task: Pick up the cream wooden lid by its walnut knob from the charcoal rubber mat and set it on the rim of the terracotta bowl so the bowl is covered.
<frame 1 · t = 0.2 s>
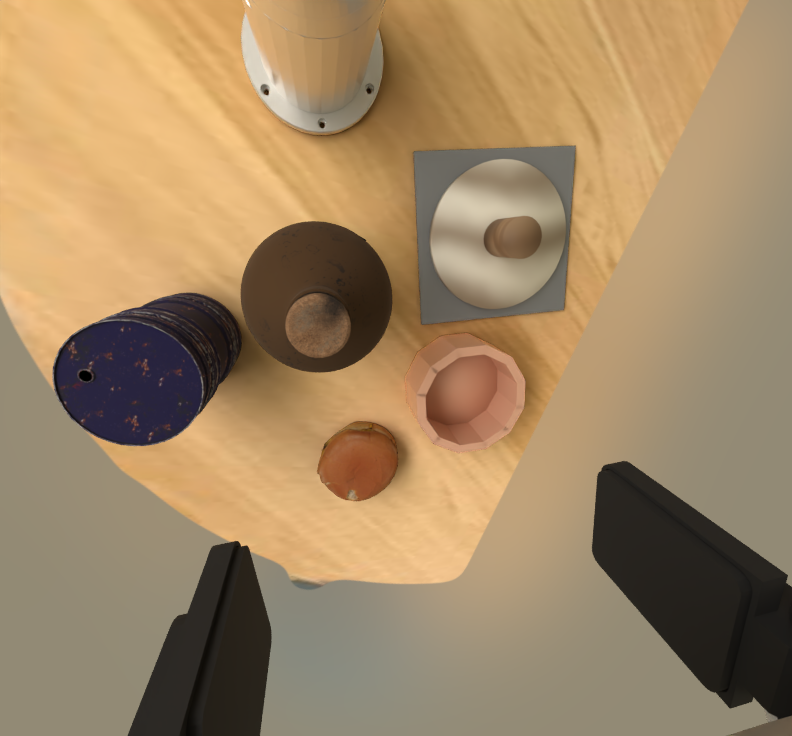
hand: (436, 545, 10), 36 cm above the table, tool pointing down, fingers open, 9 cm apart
bowl: (454, 383, 49), on the table
mat: (494, 238, 45), on the table
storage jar: (194, 337, 42), on the table
burger: (357, 452, 50), on the table
olive oil: (320, 279, 43), on the table
lid: (496, 238, 44), resting on mat
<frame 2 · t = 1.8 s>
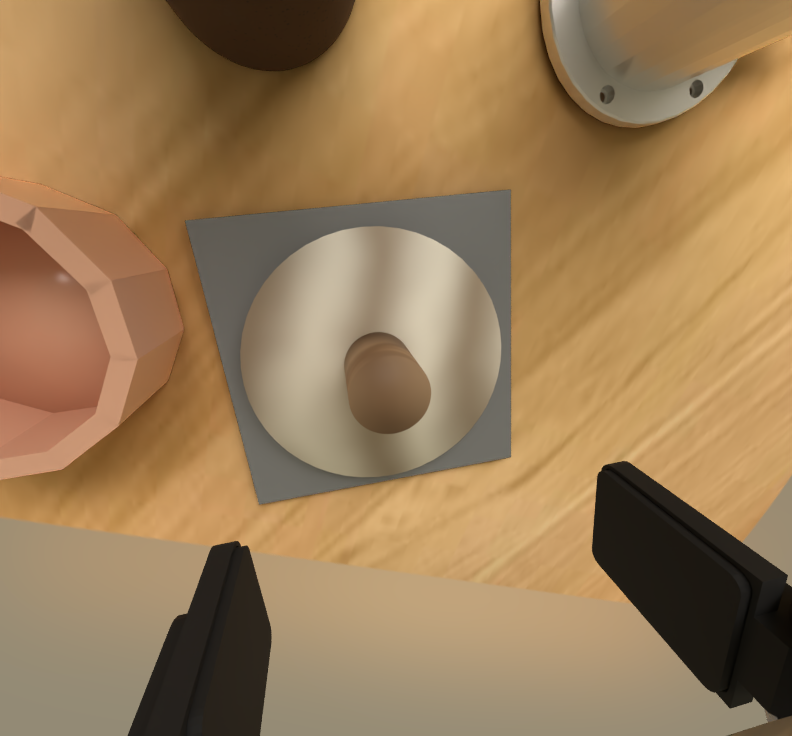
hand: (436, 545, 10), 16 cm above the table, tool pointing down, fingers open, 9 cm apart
bowl: (53, 314, 21), on the table
mat: (374, 356, 25), on the table
lid: (375, 358, 25), resting on mat
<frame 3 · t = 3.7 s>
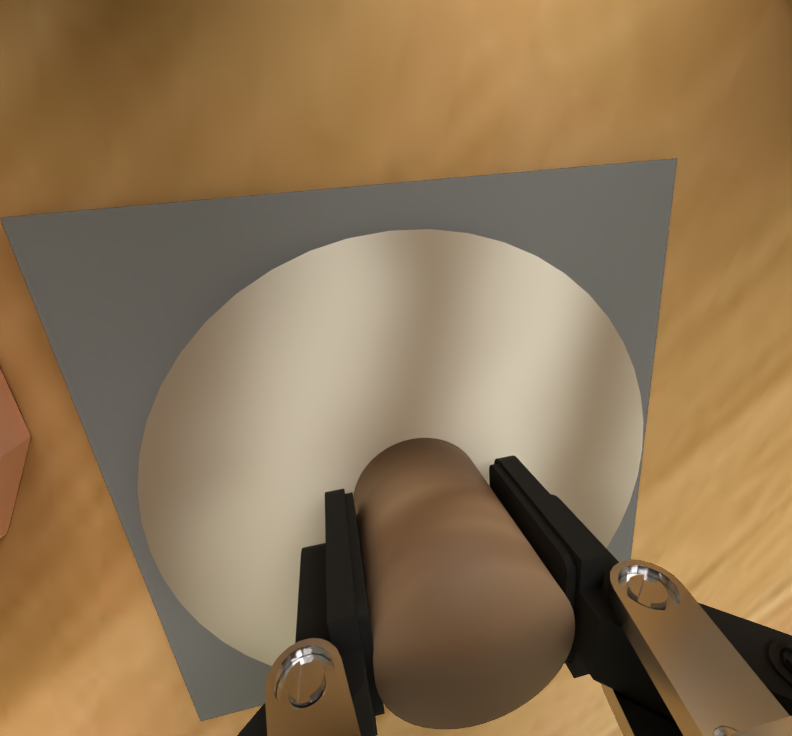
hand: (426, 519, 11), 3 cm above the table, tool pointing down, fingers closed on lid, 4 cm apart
mat: (406, 466, 14), on the table
lid: (409, 474, 13), point 1 cm above the table, touching gripper, mat
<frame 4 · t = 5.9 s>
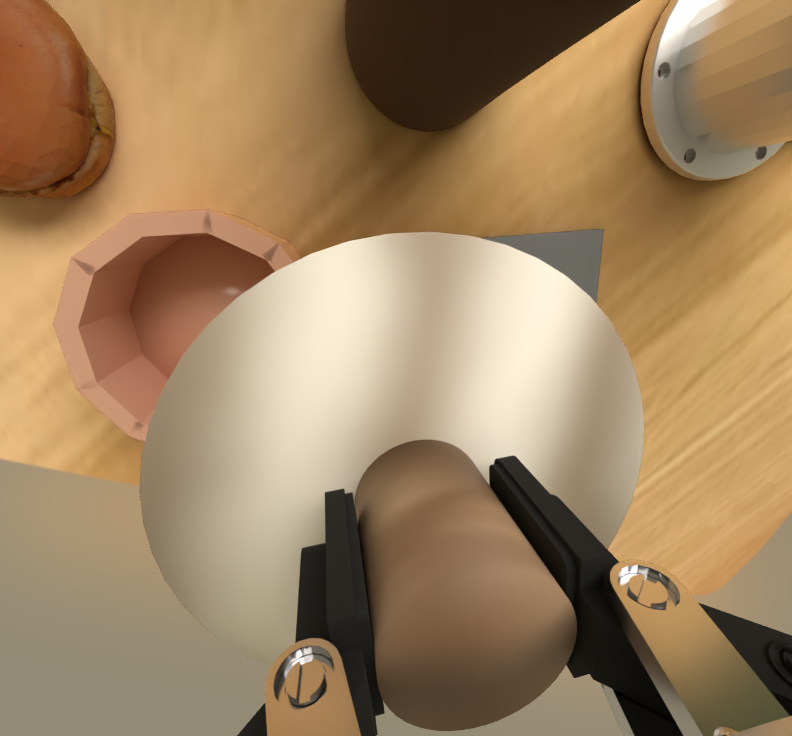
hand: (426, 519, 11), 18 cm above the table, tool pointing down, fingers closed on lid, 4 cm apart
bowl: (228, 320, 26), on the table
mat: (477, 363, 29), on the table
burger: (21, 100, 21), on the table
olive oil: (427, 43, 23), on the table
lid: (410, 475, 13), point 15 cm above the table, touching gripper
when the fingers open (10 cm above the table, at t = 8.2 s): lid drops 1 cm, resting on bowl.
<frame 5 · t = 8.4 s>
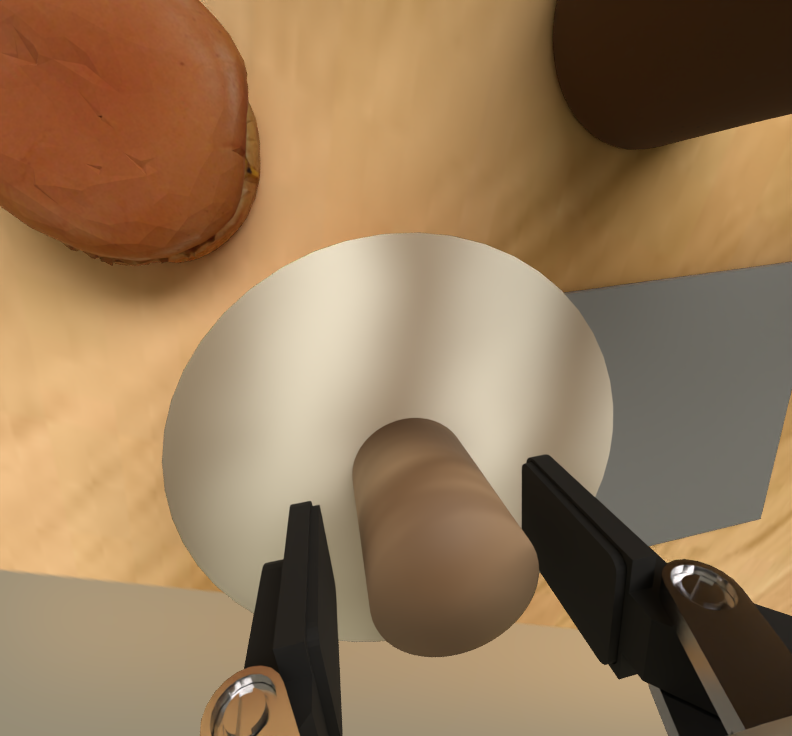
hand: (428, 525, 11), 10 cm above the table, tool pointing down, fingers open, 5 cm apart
mat: (657, 424, 24), on the table
burger: (139, 135, 16), on the table
olive oil: (645, 37, 18), on the table
lid: (403, 453, 15), point 6 cm above the table, touching bowl
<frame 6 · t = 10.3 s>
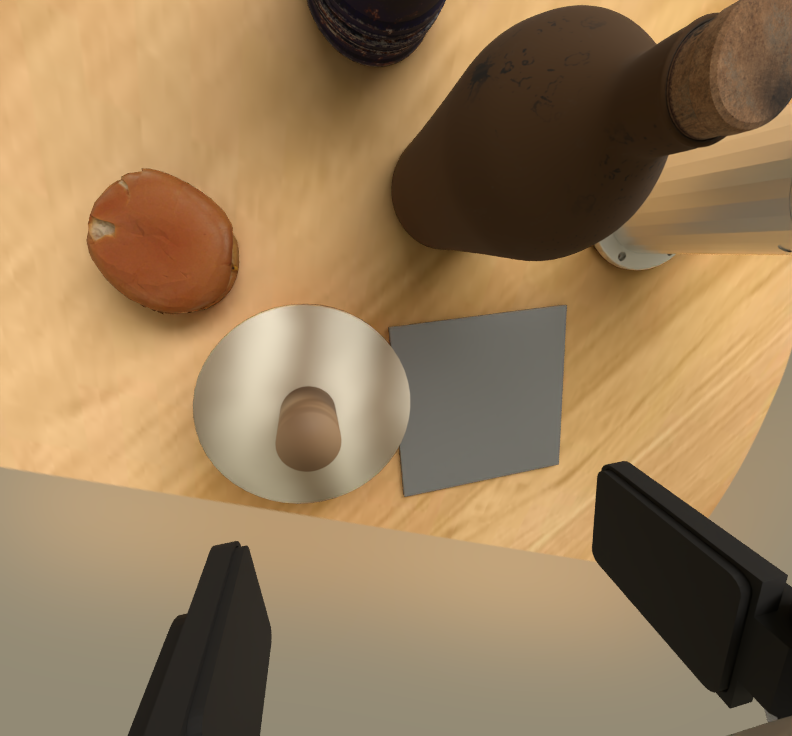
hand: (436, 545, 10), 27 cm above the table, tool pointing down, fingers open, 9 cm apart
mat: (481, 402, 40), on the table
burger: (176, 247, 31), on the table
olive oil: (444, 193, 34), on the table
lid: (308, 405, 30), point 6 cm above the table, touching bowl
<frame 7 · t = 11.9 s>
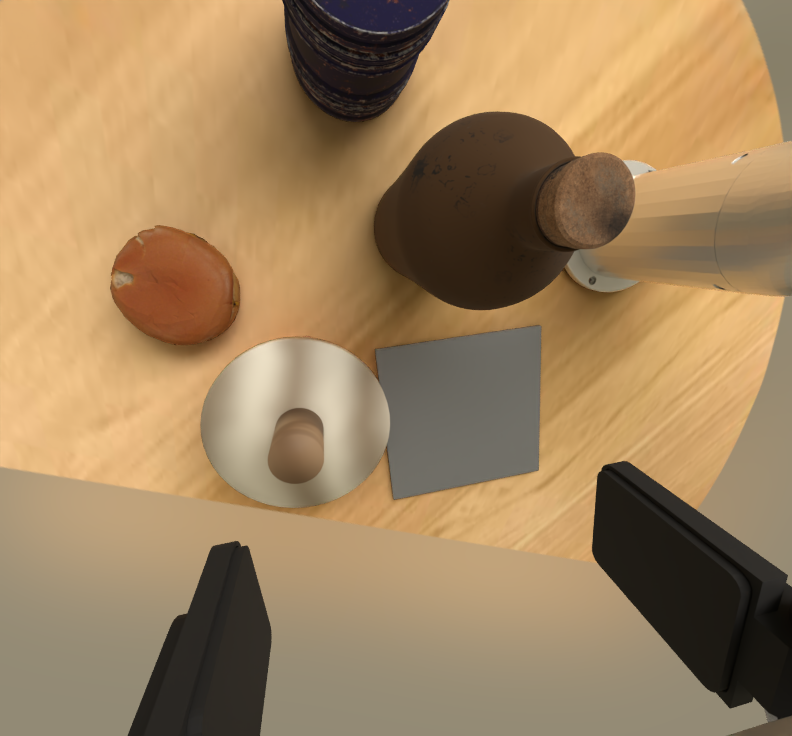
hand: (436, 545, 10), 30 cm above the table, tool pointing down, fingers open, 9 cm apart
mat: (463, 414, 44), on the table
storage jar: (350, 55, 32), on the table
burger: (186, 286, 35), on the table
olive oil: (422, 229, 37), on the table
lid: (300, 423, 34), point 6 cm above the table, touching bowl
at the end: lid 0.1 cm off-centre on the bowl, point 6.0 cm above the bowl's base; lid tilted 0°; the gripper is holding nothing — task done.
